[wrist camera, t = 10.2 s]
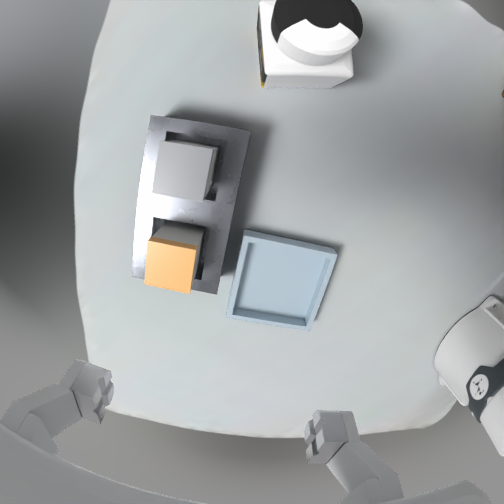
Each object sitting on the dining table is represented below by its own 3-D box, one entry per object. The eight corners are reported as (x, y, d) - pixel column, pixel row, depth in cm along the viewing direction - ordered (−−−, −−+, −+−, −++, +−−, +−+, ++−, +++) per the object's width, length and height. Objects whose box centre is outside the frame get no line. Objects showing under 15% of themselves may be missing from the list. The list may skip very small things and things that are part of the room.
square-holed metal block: (163, 117, 27) (150, 115, 23) (250, 132, 28) (251, 131, 24) (143, 260, 33) (131, 276, 29) (220, 276, 33) (216, 294, 30)
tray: (332, 248, 32) (337, 254, 30) (306, 321, 36) (309, 331, 34) (244, 229, 31) (243, 235, 30) (226, 308, 35) (225, 317, 33)
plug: (207, 224, 30) (196, 250, 24) (200, 261, 32) (189, 293, 25) (168, 217, 30) (147, 240, 23) (164, 253, 31) (144, 284, 25)
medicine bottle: (256, 27, 23) (261, -30, 12) (325, 28, 23) (365, -21, 12) (261, 89, 26) (269, 59, 15) (331, 89, 26) (380, 65, 15)
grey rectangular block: (221, 146, 27) (212, 149, 21) (212, 186, 29) (202, 202, 22) (180, 139, 27) (159, 140, 20) (172, 179, 28) (151, 193, 22)
